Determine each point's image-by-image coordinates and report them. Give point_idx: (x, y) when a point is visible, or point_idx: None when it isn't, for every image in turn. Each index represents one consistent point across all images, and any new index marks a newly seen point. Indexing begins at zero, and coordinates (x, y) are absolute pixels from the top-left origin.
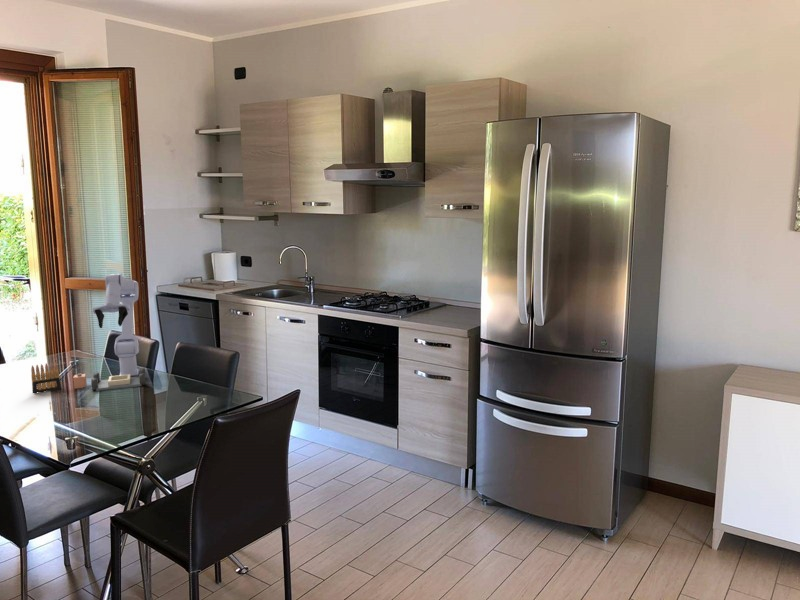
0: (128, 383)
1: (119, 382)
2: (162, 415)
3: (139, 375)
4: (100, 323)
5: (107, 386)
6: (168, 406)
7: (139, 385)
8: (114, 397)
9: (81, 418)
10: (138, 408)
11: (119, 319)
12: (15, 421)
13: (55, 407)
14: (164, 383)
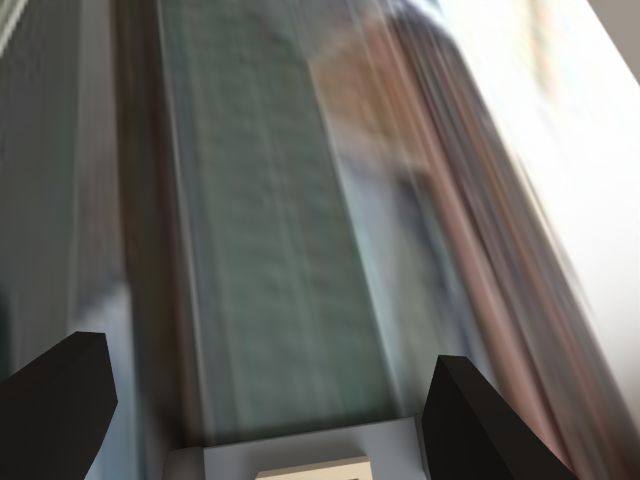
0: (265, 471)
1: (309, 467)
2: (91, 18)
3: (189, 471)
4: (451, 379)
5: (369, 445)
6: (70, 105)
7: (208, 447)
8: (301, 277)
9: (367, 47)
10: (180, 107)
11: (20, 382)
12: (597, 66)
13: (517, 194)
14: None
